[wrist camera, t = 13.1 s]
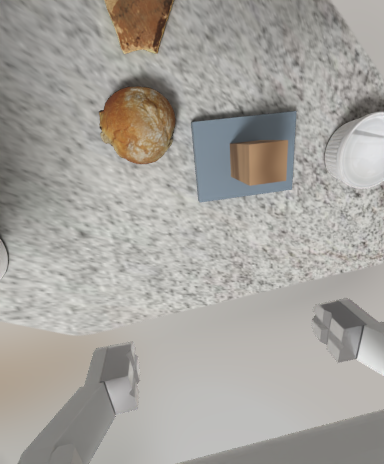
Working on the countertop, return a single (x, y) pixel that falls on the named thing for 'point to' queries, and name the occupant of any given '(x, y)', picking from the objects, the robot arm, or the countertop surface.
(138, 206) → the countertop surface
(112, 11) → the shard
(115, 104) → the bread roll
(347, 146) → the ramekin
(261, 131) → the slate board
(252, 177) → the walnut block
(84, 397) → the robot arm
